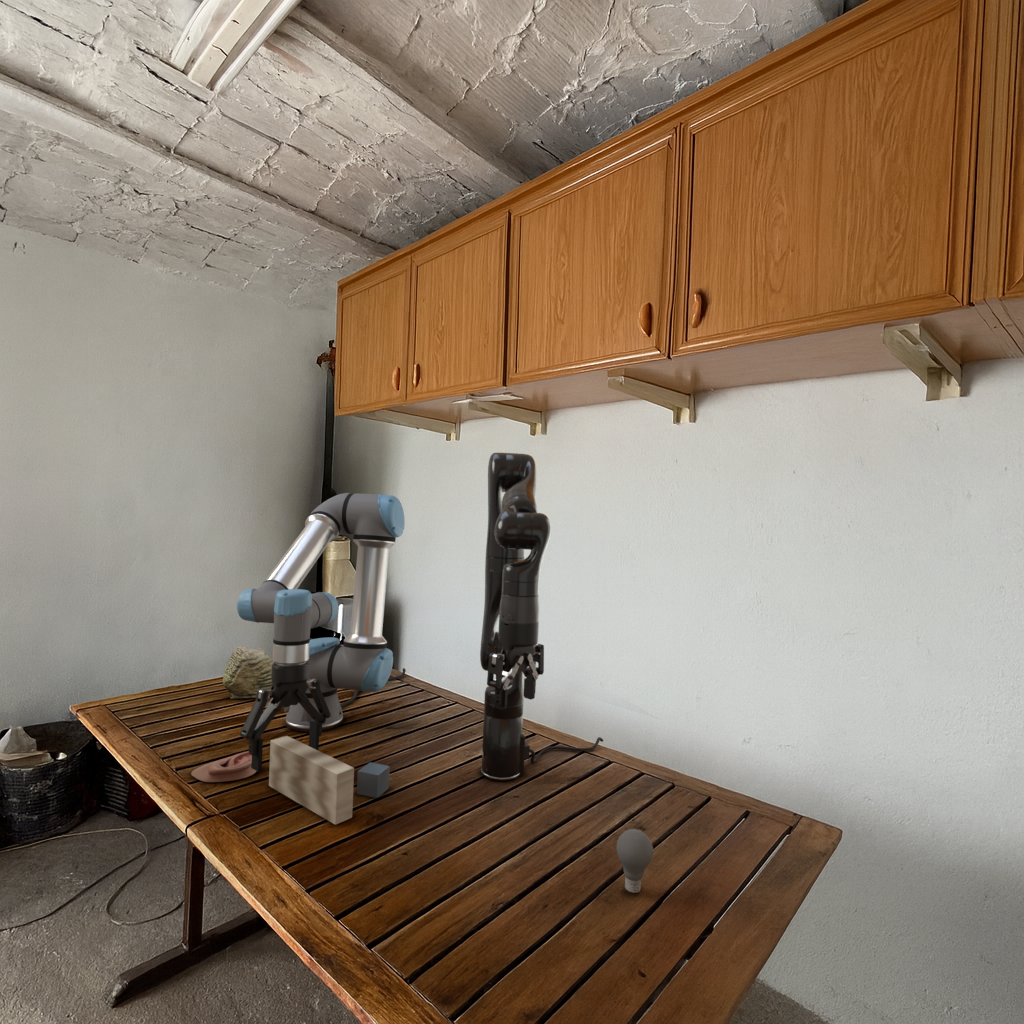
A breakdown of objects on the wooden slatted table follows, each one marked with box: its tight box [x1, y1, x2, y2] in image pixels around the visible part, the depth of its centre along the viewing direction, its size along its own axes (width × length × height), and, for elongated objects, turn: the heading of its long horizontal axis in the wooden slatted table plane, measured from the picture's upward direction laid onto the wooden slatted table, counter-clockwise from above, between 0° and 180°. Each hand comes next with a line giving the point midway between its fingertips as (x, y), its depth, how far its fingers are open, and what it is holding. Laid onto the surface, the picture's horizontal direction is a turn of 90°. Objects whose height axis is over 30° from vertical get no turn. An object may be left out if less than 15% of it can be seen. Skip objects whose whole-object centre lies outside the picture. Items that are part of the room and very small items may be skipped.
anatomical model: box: [190, 750, 257, 783], centre depth 143 cm, size 13×4×12 cm
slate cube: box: [356, 761, 391, 799], centre depth 137 cm, size 5×5×5 cm
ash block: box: [268, 735, 355, 826], centre depth 132 cm, size 24×4×10 cm, turn 51°
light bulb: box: [615, 828, 654, 894], centre depth 106 cm, size 6×6×10 cm
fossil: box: [222, 646, 274, 699], centre depth 198 cm, size 9×18×15 cm, turn 132°
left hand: (286, 760), depth 137 cm, fingers open, 13 cm apart
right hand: (515, 703), depth 120 cm, fingers open, 8 cm apart
